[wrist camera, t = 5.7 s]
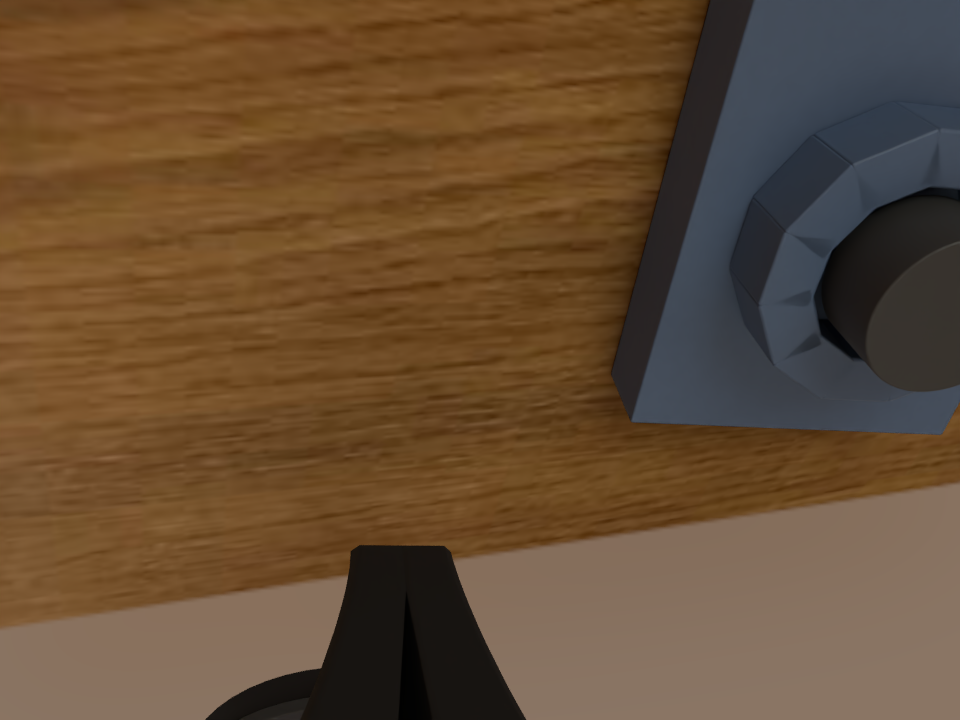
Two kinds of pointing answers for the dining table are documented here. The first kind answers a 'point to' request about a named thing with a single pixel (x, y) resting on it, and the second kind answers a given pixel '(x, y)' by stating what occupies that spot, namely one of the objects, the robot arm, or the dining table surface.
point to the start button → (901, 292)
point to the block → (788, 212)
